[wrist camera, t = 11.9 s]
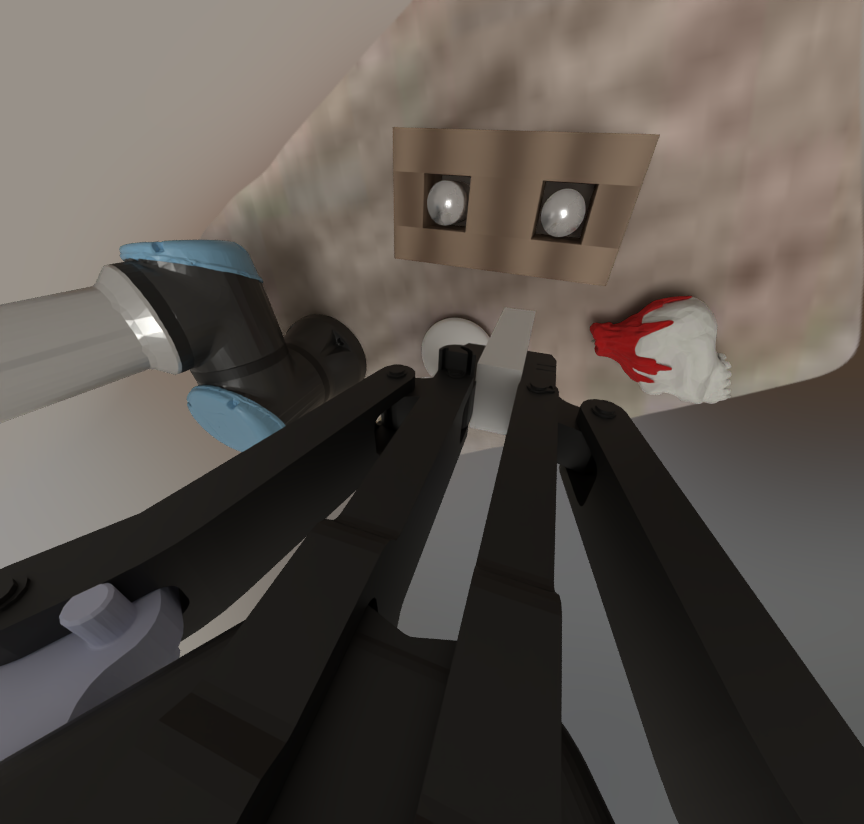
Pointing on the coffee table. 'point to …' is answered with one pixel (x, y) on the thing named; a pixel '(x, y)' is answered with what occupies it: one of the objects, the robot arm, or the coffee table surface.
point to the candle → (669, 350)
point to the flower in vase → (449, 339)
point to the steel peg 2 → (563, 212)
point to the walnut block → (517, 198)
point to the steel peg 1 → (448, 202)
